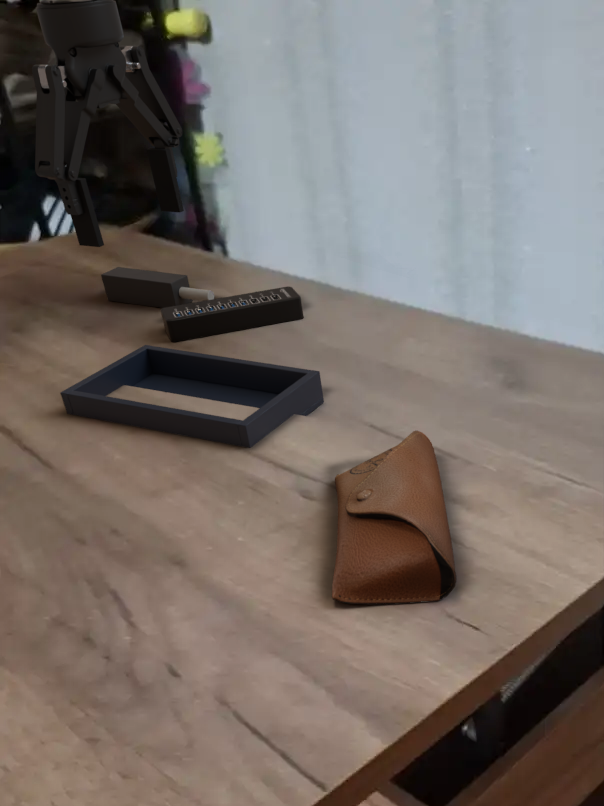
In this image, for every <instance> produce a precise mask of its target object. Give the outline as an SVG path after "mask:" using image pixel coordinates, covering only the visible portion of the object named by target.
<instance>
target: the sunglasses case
mask: <svg viewBox="0 0 604 806" xmlns="http://www.w3.org/2000/svg"><path fill="white" fill-rule="evenodd" d="M436 455H437V454H436V453H435V448H434V446H433V443H432V441H431V440H430V438H429V437H428V436H427V435H426V434H425V433H423V432H422V431H420V430H413V431H412V432H410V434H408V435H407V436H406V437H405V438H404V439H402V441H401V442H399V443H398V444H397V445H395V446H393V447H390V448H389V449H387V450H385V451H383V452H381V453H379V454H377V455H375V456H372V457H371V458H369V459H367V460H365V461H363V462H361V463H359V464H358V465H356V466H353V467H351V468H349V469H347V470H345V471H343V472H342V473H338V474H336V476H335V477H334V484H335V490H336V497H337V499H336V500H337V524H336V525H337V533H336V552H335V553H336V554H335V561H334V562H335V563H334V570H333V575H332V576H333V577H332V585H331V598H332V600H334V601H337V602H338V603H341V604H346V605H349V604H350V605H373V606H374V605H375V606H376V605H377V606H378V605H379V606H380V605H381V606H383V605H382V604H388V605H396V604H395V603H404V604H411V603H410V602H420V603H422V602H421V601H431V602H439V601H441V600H443V599H444V598H446V597H448V596H449V595H450V594H451V593H452V591H453V590H454V588H455V587H456V585H457V573H456V564H455V557H454V549H453V543H452V538H451V529H450V525H449V519H448V513H447V508H446V501H445V496H444V491H443V484H442V478H441V474H440V468H439V464H438V460H437V456H436Z"/></svg>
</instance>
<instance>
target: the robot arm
mask: <svg viewBox="0 0 604 806" xmlns="http://www.w3.org/2000/svg"><path fill="white" fill-rule="evenodd" d="M35 11H36V15H37V18H38V22H39V24H40V28H41V32H42V35H43V40H44V42H45V44H46V45H47V46H48V47H49V48H51V50H52V51H53V53H54V55H55V64H34V65H32V68H31V72H32V77H33V81H34V86H35V91H36V104H35V105H36V107H35V108H36V111H35V149H34V151H35V152H34V153H35V154H34V156H35V157H34V171H35V174H36V175H37V177H39V178H47V179H48V180H53V181H54V182H55V183H56V185H57V189H58V191H59V194H60V197H61V201H62V204H63V208H64V210H65V212H66V213H67V215H70V218H71V221H72V225H73V227H74V231H75V235H76V239H77V241H78V245H79V246H81V247H82V246H83V247H92V248H93V247H94V248H101V247H103V246H105V243H104V242H105V241H104V239H103V236H102V233H101V228H100V225H99V222H98V219H97V214H96V211H95V207H94V204H93V200H92V196H91V193H90V189H89V187H88V182H87V178H85V177H79V172H80V167H81V164H82V159H83V155H84V149H85V145H86V140H87V136H88V131H89V127H90V122H91V118H92V117H93V116H95V114H96V112H97V109H103V108H105V107H107V106H108V105H116V106H117V108H118V109H120V111H121V113H123V115H125V117H127V119H128V120H129V121H130V122H131V123H132V125H133V126H134V127H135V128H136V130H137V131H139V133H140V134H141V135H142V136H143V137H144V139H146V141H147V142H148V143H149V144H150V145H151V146H152V147H149V148H146V149H145V150H146V153H147V158H148V162H149V166H150V171H151V175H152V179H153V183H154V187H155V191H156V195H157V196H156V197H157V201H158V203H159V204H158V205H159V208H160V211H161V212H167V213H182V212H185V209H184V205H183V201H182V196H181V191H180V187H179V182H178V169H177V164H176V160H175V156H174V155H175V154H174V150H173V148H178V147H179V146H180V138H181V137H183V129H182V125H181V124H180V123H179V121H178V119H177V117H176V115H175V113H174V111H173V110H172V108H171V106H170V104H169V102H168V101H167V99H166V96H165V95H164V93H163V91H162V90H161V87H160V86H159V84H158V82H157V80H156V78H155V76H154V75H153V73H152V71H151V70H150V66H149V64H148V63H149V62H148V60H147V59H148V58H147V56H146V53H145V50H144V48H143V47H142V46H140V45H120V44H119V43H120V42H122V41H123V40H124V35H125V34H124V29H123V26H122V22H121V18H120V14H119V9H118V5H117V1H116V0H39V2H37V3H36V7H35Z"/></svg>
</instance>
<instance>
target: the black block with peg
mask: <svg viewBox="0 0 604 806" xmlns="http://www.w3.org/2000/svg"><path fill="white" fill-rule="evenodd" d="M100 277H101V281H102V284H103V288H104V291H105V295H106V299H107V301H108V302H115V303H123V304H131V305H137V306H138V305H140V306H144V307H145V306H146V307H154V308H160V309H162V308H165V307H171V306H177V305H183V304H188V303H193V302H194V301H199V302H200V301H206V300H212V299H215V293H214V291H213V290H211V289H201V288H193V287H191V286H190V282H189V281H190V280H189V277H188V275H187V274H179V273H172V272H164V271H155V270H147V269H146V270H145V269H139V268H130V267H123V266H117V267H114V268H112V269H109V270H108V271H105V272H104V273H101V274H100Z"/></svg>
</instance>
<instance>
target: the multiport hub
mask: <svg viewBox="0 0 604 806" xmlns="http://www.w3.org/2000/svg"><path fill="white" fill-rule="evenodd" d="M160 314H161V319H162V322H163V326H164V330H165V332H166V334H167V337H168V338H169V340H170V342H172V343H176V342H182V341H188V340H193V339H199V338H205V337H209V336H215V335H220V334H226V333H232V332H237V331H243V330H247V329H252V328H253V329H255V328H259V327H264V326H271V325H275V324H276V325H277V324H280V323H285V322H291V321H298V320H302V319H304V309H303V304H302V297H301V295H300V294H299V293H298V292H297V291H296V290H295V289H294V288H293V287H292V286H282V287H277V288H270V289H265V290H258V291H253V292H248V293H242V294H241V293H240V294H236V295H230V296H224V297H218V298H214V299H212V300H206V301H200V300H199V301H193V302H191V303H188V304H183V305H177V306H171V307H165V308H160Z"/></svg>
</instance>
